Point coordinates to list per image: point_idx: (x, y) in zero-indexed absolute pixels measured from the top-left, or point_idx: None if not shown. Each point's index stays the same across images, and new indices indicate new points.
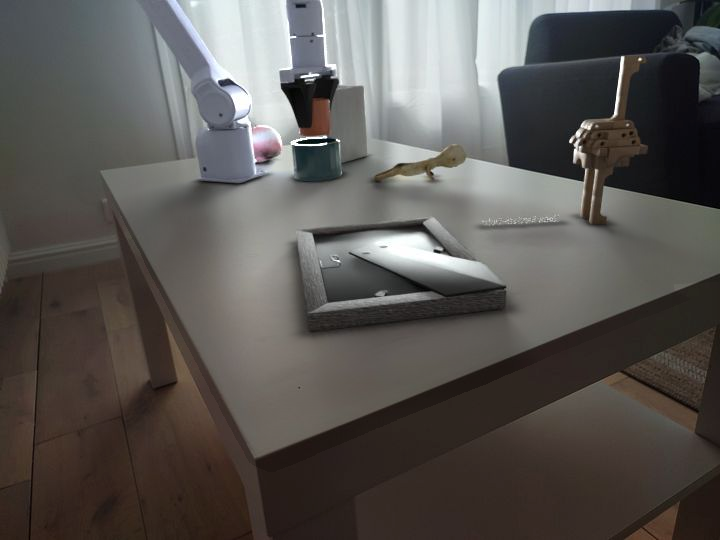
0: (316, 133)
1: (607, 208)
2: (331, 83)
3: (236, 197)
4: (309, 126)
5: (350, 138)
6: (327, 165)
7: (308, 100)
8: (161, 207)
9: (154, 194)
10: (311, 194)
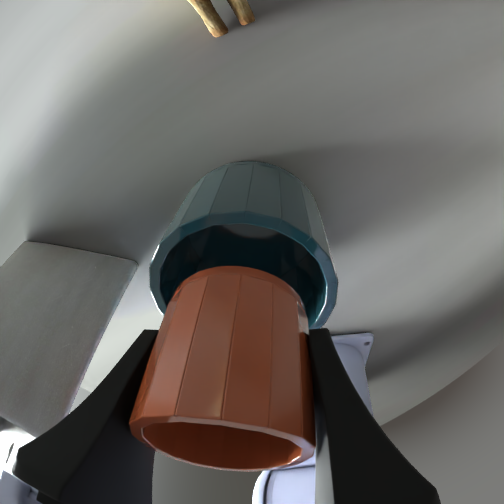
0: (293, 295)
1: None
2: (77, 482)
3: (461, 278)
4: (326, 331)
5: (40, 282)
6: (290, 188)
7: (381, 435)
8: (492, 328)
9: (428, 377)
10: (438, 138)
